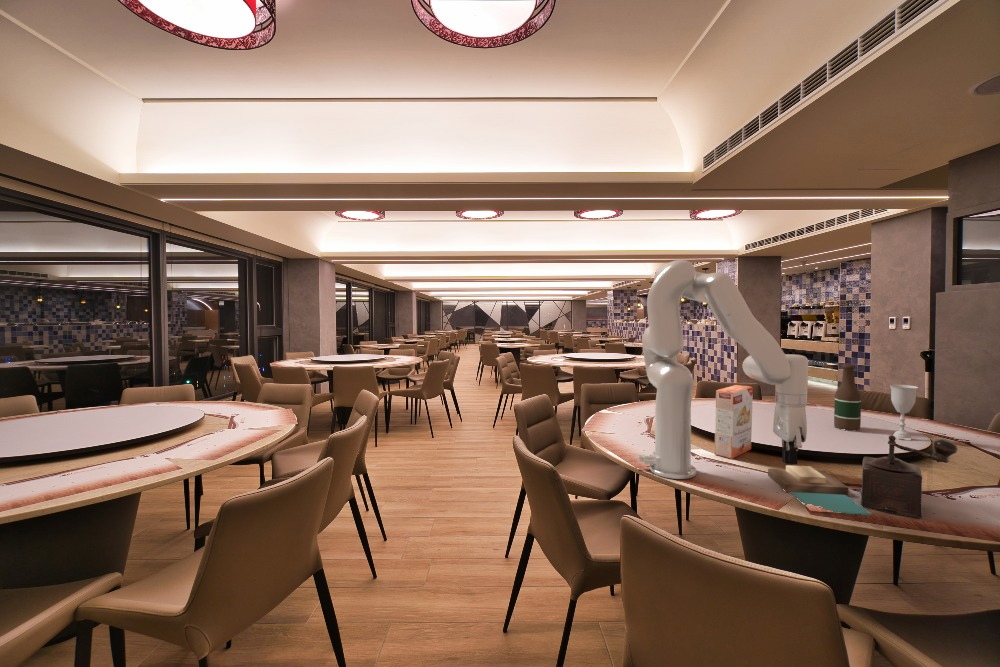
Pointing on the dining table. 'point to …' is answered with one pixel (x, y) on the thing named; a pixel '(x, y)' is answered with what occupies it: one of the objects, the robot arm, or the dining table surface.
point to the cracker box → (733, 421)
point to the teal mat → (831, 502)
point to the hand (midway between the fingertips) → (789, 463)
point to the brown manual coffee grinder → (898, 479)
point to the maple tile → (805, 474)
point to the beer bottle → (847, 402)
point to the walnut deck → (794, 485)
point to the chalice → (903, 404)
